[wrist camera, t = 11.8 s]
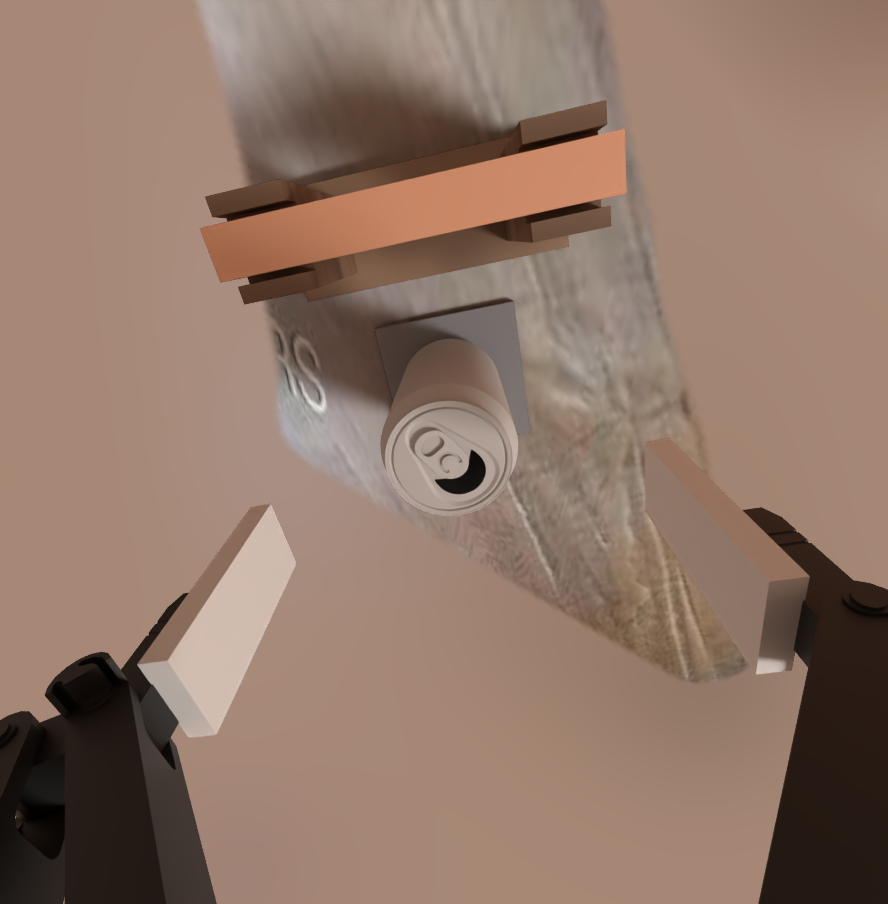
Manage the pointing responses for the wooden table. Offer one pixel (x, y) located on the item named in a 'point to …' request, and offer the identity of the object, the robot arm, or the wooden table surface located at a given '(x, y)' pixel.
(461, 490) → the beverage can
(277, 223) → the crossbar
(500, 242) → the walnut stand
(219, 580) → the robot arm
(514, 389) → the rubber mat
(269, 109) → the wooden table surface
